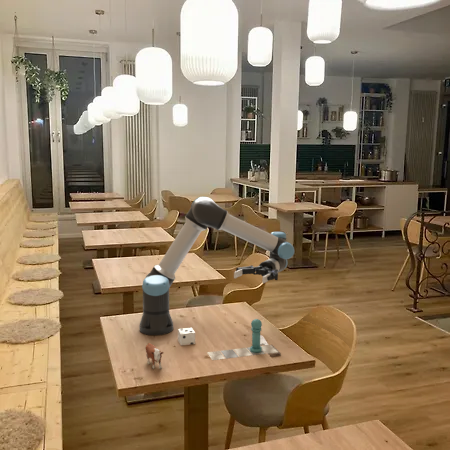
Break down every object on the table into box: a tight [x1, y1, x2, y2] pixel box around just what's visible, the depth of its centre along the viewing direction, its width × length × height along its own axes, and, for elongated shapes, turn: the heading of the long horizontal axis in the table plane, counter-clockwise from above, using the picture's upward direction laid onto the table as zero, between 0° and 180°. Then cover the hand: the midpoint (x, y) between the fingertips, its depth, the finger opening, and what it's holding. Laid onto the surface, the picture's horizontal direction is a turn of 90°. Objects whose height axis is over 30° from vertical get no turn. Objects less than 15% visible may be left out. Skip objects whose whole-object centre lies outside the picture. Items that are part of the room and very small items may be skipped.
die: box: [177, 327, 196, 346], centre depth 204 cm, size 6×6×6 cm
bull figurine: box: [145, 342, 164, 370], centre depth 183 cm, size 4×13×8 cm, turn 24°
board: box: [206, 344, 282, 361], centre depth 194 cm, size 28×9×1 cm, turn 107°
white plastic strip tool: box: [260, 334, 269, 346], centre depth 207 cm, size 5×15×1 cm, turn 10°
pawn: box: [249, 318, 263, 353], centre depth 195 cm, size 5×5×13 cm
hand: (248, 277), depth 211 cm, fingers open, 13 cm apart
